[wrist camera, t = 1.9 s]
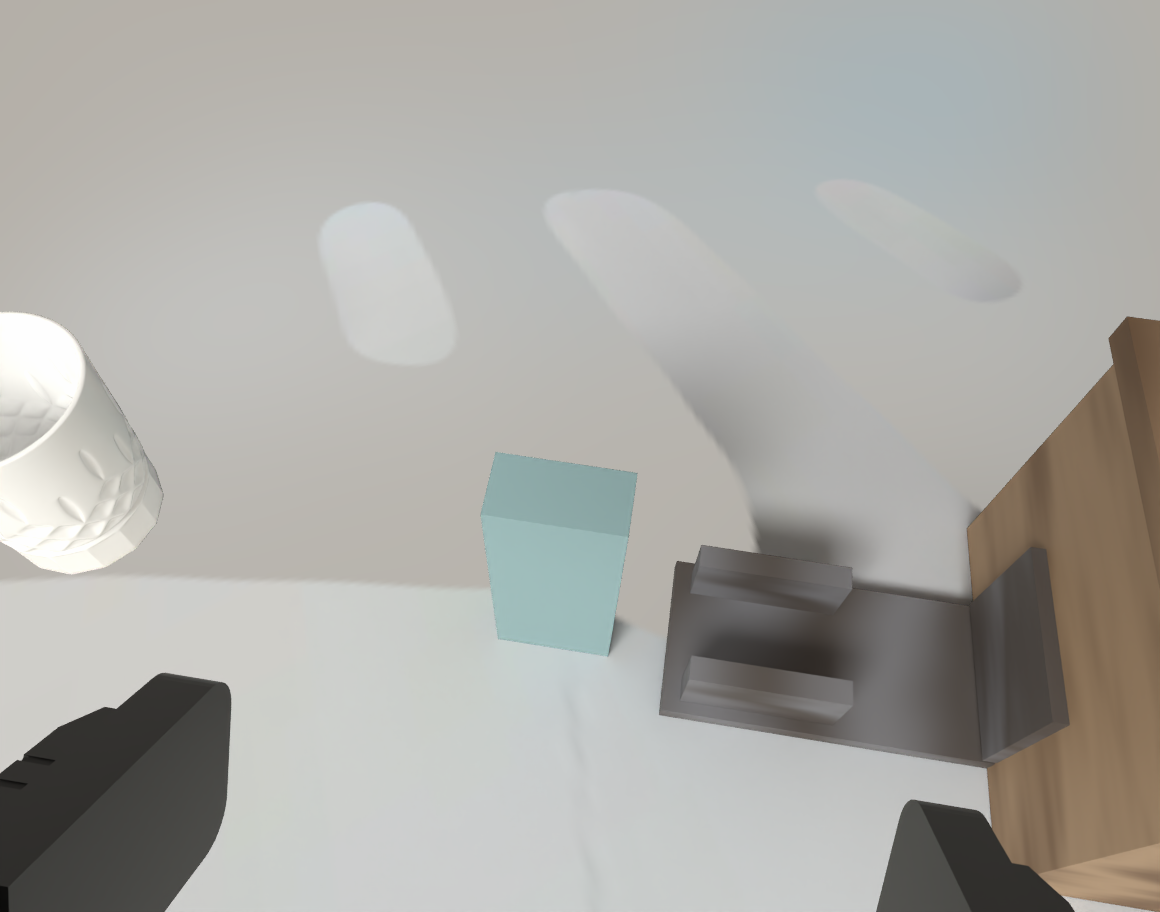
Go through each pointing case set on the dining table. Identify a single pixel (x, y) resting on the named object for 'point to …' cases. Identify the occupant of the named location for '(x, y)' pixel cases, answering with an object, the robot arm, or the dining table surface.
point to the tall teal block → (556, 550)
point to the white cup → (66, 454)
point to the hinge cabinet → (981, 647)
